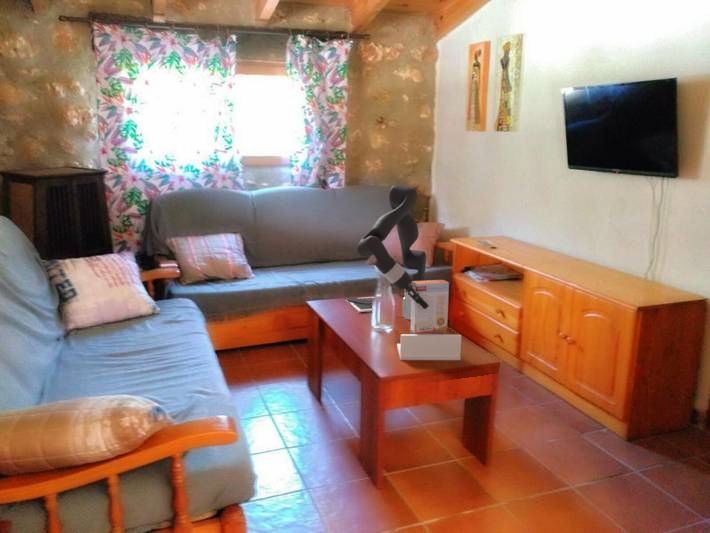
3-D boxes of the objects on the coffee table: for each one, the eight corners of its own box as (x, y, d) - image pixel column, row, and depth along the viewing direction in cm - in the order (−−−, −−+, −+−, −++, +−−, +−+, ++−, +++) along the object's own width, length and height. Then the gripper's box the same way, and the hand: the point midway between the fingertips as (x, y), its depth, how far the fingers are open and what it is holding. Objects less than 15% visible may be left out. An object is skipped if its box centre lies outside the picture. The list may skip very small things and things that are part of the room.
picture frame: (345, 302, 308) (358, 314, 289) (345, 297, 307) (358, 309, 288) (373, 300, 313) (388, 312, 294) (373, 295, 312) (388, 306, 293)
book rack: (397, 346, 246) (397, 324, 244) (453, 347, 247) (454, 324, 245) (400, 360, 233) (401, 336, 230) (460, 360, 233) (461, 336, 231)
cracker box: (441, 328, 242) (444, 279, 238) (447, 332, 236) (449, 282, 232) (409, 329, 239) (411, 280, 235) (414, 334, 233) (416, 283, 229)
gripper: (406, 274, 224) (435, 303, 227) (402, 265, 238) (429, 293, 241) (392, 287, 225) (421, 316, 228) (388, 277, 239) (416, 305, 242)
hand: (425, 304), depth 235 cm, fingers closed on cracker box, 6 cm apart
